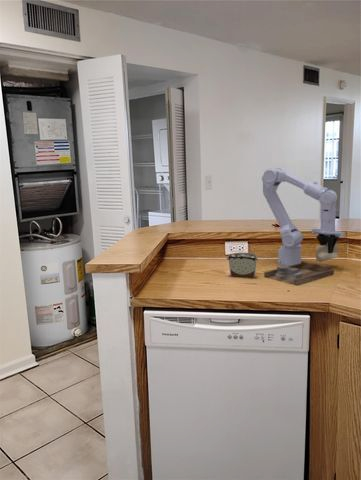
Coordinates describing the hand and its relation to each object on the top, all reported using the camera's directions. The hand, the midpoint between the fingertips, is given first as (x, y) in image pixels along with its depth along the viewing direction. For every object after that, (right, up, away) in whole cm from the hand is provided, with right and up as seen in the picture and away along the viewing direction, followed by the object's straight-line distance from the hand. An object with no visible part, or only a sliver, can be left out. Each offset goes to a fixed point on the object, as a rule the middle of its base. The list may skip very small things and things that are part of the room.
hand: (327, 252), depth 171 cm
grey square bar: (-19, -10, -12) cm, 25 cm away
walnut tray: (-14, -10, -9) cm, 20 cm away
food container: (-35, -10, -5) cm, 37 cm away
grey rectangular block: (0, -3, 0) cm, 3 cm away
